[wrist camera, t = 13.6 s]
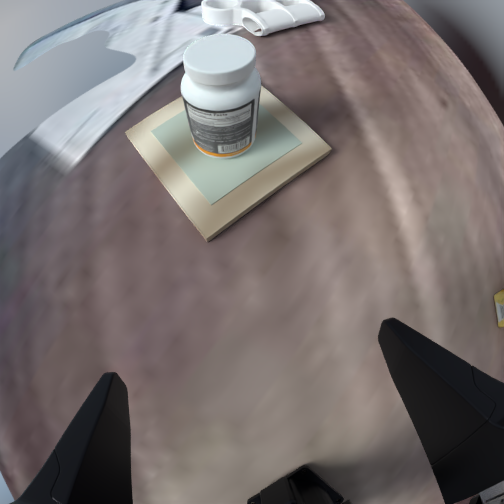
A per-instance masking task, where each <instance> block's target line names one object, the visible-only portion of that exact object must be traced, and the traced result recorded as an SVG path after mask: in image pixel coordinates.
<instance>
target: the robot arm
mask: <svg viewBox="0 0 504 504" xmlns="http://www.w3.org/2000/svg"><path fill="white" fill-rule="evenodd" d="M378 341H379V344H380V347H381V350H382V352H383V355H384V358H385V360H386V363H387V366H388V369H389V372H390V374H391V377H392V379H393V381H394V384H395V386H396V388H397V390H398V392H399V394H400V396H401V398H402V400H403V402H404V405H405V407H406V409H407V411H408V413H409V415H410V418H411V420H412V422H413V424H414V427H415V429H416V431H417V433H418V436H419V438H420V440H421V443H422V445H423V447H424V450H425V452H426V455H427V457H428V459H429V462H430V464H431V467H432V470H433V472H434V475H435V477H436V480H437V483H438V485H439V488H440V491H441V493H442V496H443V499H444V502H445V504H454V503H456V502H459V501H461V500H464V499H466V498H469V497H471V496H473V495H476V494H477V495H476V496H474V497H473V498H472V499H471V500H470V503H469V504H504V383H502V382H500V381H498V380H496V379H494V378H492V377H491V376H489V375H487V374H485V373H484V372H482V371H480V370H479V369H477V368H476V367H474V366H471V364H469V363H467V362H466V361H464V360H463V359H461V358H459V357H458V356H456V355H455V354H453V353H451V352H450V351H448V350H447V349H445V348H443V347H442V346H440V345H438V344H437V343H435V342H434V341H432V340H430V339H429V338H427V337H425V336H424V335H422V334H420V333H419V332H417V331H416V330H414V329H412V328H411V327H409V326H407V325H406V324H404V323H402V322H401V321H399V320H397V319H396V318H389V319H386V320H383V322H382V324H381V328H380V331H379V335H378ZM303 470H306V471H305V472H302V471H303ZM337 499H339V500H337ZM336 500H337V501H336ZM343 500H344V498H343V497H342V495H340V494H339V493H338V492H337V491H336V490H334V489H333V488H332V487H331V486H330V485H328V484H327V483H326V482H325V481H324V480H323V479H321V478H320V477H319V476H318V475H317V474H316V473H315V472H314V471H312V470H311V469H310V468H309V467H308V466H305V465H304V466H301V467H299V468H298V469H296V470H295V471H293V472H292V473H290V474H289V475H287V476H286V477H282V478H281V479H279V480H278V481H276V482H275V483H273V484H271V485H270V486H268V487H266V488H265V489H263V490H261V491H260V493H258V494H257V495H255V496H253V497H251V498H250V499H248V501H247V504H340V503H342V502H343ZM251 502H255V503H251ZM10 504H133V499H132V482H131V429H130V417H129V405H128V391H127V387H126V385H125V383H124V382H123V381H122V380H121V378H120V377H119V376H118V374H117V373H115V372H107V373H104V374H103V375H102V377H101V378H100V380H99V381H98V383H97V384H96V385H95V387H94V388H93V390H92V391H91V393H90V394H89V396H88V397H87V399H86V400H85V402H84V403H83V405H82V406H81V408H80V409H79V411H78V412H77V414H76V415H75V417H74V418H73V420H72V421H71V423H70V424H69V426H68V428H67V429H66V431H65V432H64V434H63V435H62V437H61V439H60V440H59V442H58V443H57V445H56V446H55V449H54V450H53V451H52V453H51V454H50V456H49V458H48V459H47V461H46V462H45V464H44V465H43V467H42V468H41V470H40V471H39V472H38V474H37V475H36V477H35V478H34V479H33V480H32V482H31V483H30V484H29V486H28V487H27V488H26V490H25V491H24V492H23V494H22V495H21V496H20V497H19V498H18V499H17V500H16V501H14V502H12V503H10ZM342 504H352V503H351V502H350V501H349V500H347V501H346V502H344V503H342Z"/></svg>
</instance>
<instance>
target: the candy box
mask: <svg viewBox="0 0 504 504" xmlns="http://www.w3.org/2000/svg"><path fill="white" fill-rule="evenodd" d="M494 301H495V307H496V313H497V320H498V327H504V289H503V290H501V291H500V292H498V293H497V294H495V295H494Z"/></svg>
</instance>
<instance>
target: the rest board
mask: <svg viewBox="0 0 504 504" xmlns="http://www.w3.org/2000/svg"><path fill="white" fill-rule="evenodd" d="M125 133H126V135H127V137H128V138H129V140H130V141H131V142H132V144H133V145H134V147H135V148H136V149H137V151H138V152H139V153H140V155H141V156H142V157H143V159H144V160H145V161H146V163H147V164H148V165H149V167H150V168H151V169H152V171H153V172H154V173H155V175H156V176H157V177H158V179H159V180H160V181H161V183H162V184H163V185H164V187H165V188H166V189H167V191H168V192H169V193H170V195H171V196H172V197H173V198H174V200H175V201H176V202H177V204H178V205H179V206H180V208H181V209H182V210H183V211H184V213H185V214H186V215H187V217H188V218H189V219H190V221H191V222H192V223H193V224H194V226H195V227H196V228H197V230H198V231H199V232H200V233H201V235H202V236H203V237H204V238H205V240H206V241H207V242H209V241H210V240H211V239H213V238H214V237H215V236H217V235H218V234H219V233H221V232H222V231H223V230H225V229H226V228H227V227H229V226H230V225H231V224H233V223H234V222H235V221H237V220H238V219H239V218H241V217H242V216H243V215H245V214H246V213H247V212H249V211H250V210H252V209H253V208H254V207H256V206H257V205H258V204H260V203H261V202H262V201H264V200H265V199H267V198H268V197H269V196H271V195H272V194H273V193H275V192H276V191H278V190H279V189H280V188H282V187H283V186H284V185H286V184H287V183H289V182H290V181H291V180H293V179H294V178H296V177H297V176H298V175H300V174H301V173H303V172H304V171H306V170H307V169H308V168H310V167H311V166H313V165H314V164H316V163H317V162H318V161H320V160H321V159H323V158H324V157H326V156H327V155H328V154H329V153H330V151H331V149H332V148H331V147H330V146H329V145H328V144H327V143H326V142H325V141H324V140H323V139H322V138H320V137H319V136H318V135H317V134H316V133H315V132H314V131H313V130H312V129H311V128H310V127H309V126H308V125H307V124H306V123H305V122H303V121H302V120H301V119H300V118H299V117H298V116H297V115H296V114H295V113H293V112H292V111H291V110H290V109H289V108H288V107H287V106H285V105H284V104H283V103H282V102H281V101H280V100H278V99H277V98H276V97H275V96H274V95H272V94H271V93H270V92H269V91H268V90H266V89H265V88H264V87H263V86H261V93H260V102H259V111H258V124H257V132H256V137H255V140H254V142H253V144H252V146H251V147H250V148H249V149H248V150H247V151H245V152H244V153H243V154H241V155H239V156H236V157H233V158H228V159H218V158H212V157H209V156H207V155H205V154H203V153H202V152H201V151H199V149H198V148H197V147H196V145H195V144H194V141H193V138H192V135H191V131H190V127H189V123H188V119H187V115H186V111H185V106H184V102H183V98H182V97H180V98H178V99H176V100H175V101H173V102H171V103H170V104H168V105H166V106H165V107H163V108H161V109H160V110H158V111H156V112H155V113H153V114H152V115H150V116H148V117H147V118H145V119H144V120H142V121H141V122H139V123H138V124H136V125H135V126H133V127H132V128H130V129H129V130H128V131H126V132H125Z"/></svg>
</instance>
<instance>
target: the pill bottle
mask: <svg viewBox="0 0 504 504" xmlns="http://www.w3.org/2000/svg"><path fill="white" fill-rule="evenodd" d="M183 62H184V68H185V72H186V73H185V74H184V76H183V79H182V82H181V94H182V98H183V102H184V106H185V111H186V115H187V119H188V123H189V127H190V131H191V135H192V138H193V141H194V144H195V145H196V147H197V148H198V149H199V151H201V152H202V153H203V154H205V155H207V156H209V157H212V158H218V159H228V158H233V157H236V156H239V155H241V154H243V153H244V152H245V151H247V150H248V149H249V148H250V147H251V146H252V144H253V142H254V140H255V137H256V132H257V124H258V111H259V102H260V93H261V78H260V75H259V73H258V71H257V69H256V68H255V66H256V50H255V47H254V46H253V44H252V43H251V42H250V41H248V40H247V39H245V38H243V37H240V36H236V35H231V34H215V35H209V36H206V37H203V38H200V39H198V40H196V41H194V42H193V43H192V44H190V45H189V46H188V47H187V48H186V50H185V52H184V55H183Z"/></svg>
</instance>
